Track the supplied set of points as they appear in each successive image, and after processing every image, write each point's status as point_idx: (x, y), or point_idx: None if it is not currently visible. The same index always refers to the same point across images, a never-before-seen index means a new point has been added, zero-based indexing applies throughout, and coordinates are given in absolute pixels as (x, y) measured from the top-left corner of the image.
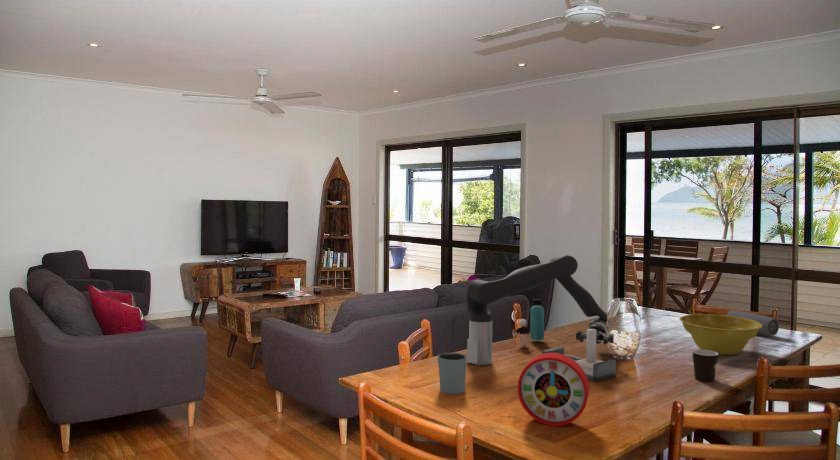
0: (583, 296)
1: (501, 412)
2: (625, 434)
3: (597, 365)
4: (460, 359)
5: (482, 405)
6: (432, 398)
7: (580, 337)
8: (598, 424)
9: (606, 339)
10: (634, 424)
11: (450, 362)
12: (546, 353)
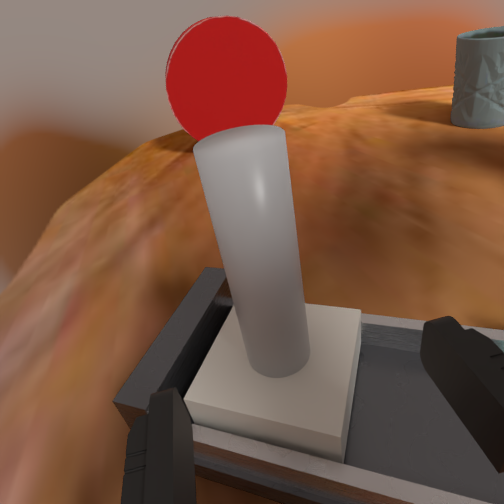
0: None
1: (323, 126)
2: (129, 165)
3: (207, 267)
4: (457, 36)
5: (369, 123)
6: None
7: (465, 333)
8: (170, 164)
9: (143, 443)
10: (112, 186)
11: (467, 38)
12: (231, 16)
